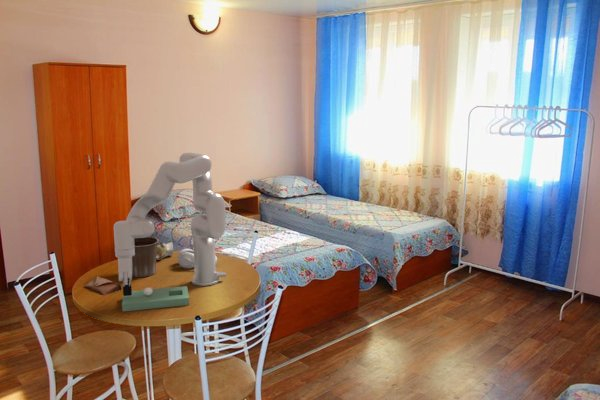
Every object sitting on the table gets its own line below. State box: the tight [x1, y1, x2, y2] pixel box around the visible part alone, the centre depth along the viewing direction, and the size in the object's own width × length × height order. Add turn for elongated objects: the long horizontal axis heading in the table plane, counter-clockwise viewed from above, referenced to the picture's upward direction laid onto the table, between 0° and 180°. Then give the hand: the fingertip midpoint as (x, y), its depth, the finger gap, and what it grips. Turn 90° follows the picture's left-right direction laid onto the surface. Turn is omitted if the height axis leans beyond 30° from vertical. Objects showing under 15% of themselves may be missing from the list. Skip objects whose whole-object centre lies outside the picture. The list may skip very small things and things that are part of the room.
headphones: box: [177, 247, 218, 269], centre depth 265 cm, size 18×8×20 cm
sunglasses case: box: [82, 274, 122, 296], centre depth 232 cm, size 18×7×7 cm, turn 54°
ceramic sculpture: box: [156, 241, 174, 261], centre depth 276 cm, size 11×9×15 cm
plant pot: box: [132, 236, 160, 278], centre depth 250 cm, size 16×16×16 cm
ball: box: [143, 286, 153, 296], centre depth 216 cm, size 4×4×4 cm
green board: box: [121, 285, 190, 313], centre depth 217 cm, size 26×14×3 cm, turn 105°
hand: (127, 294), depth 214 cm, fingers closed
